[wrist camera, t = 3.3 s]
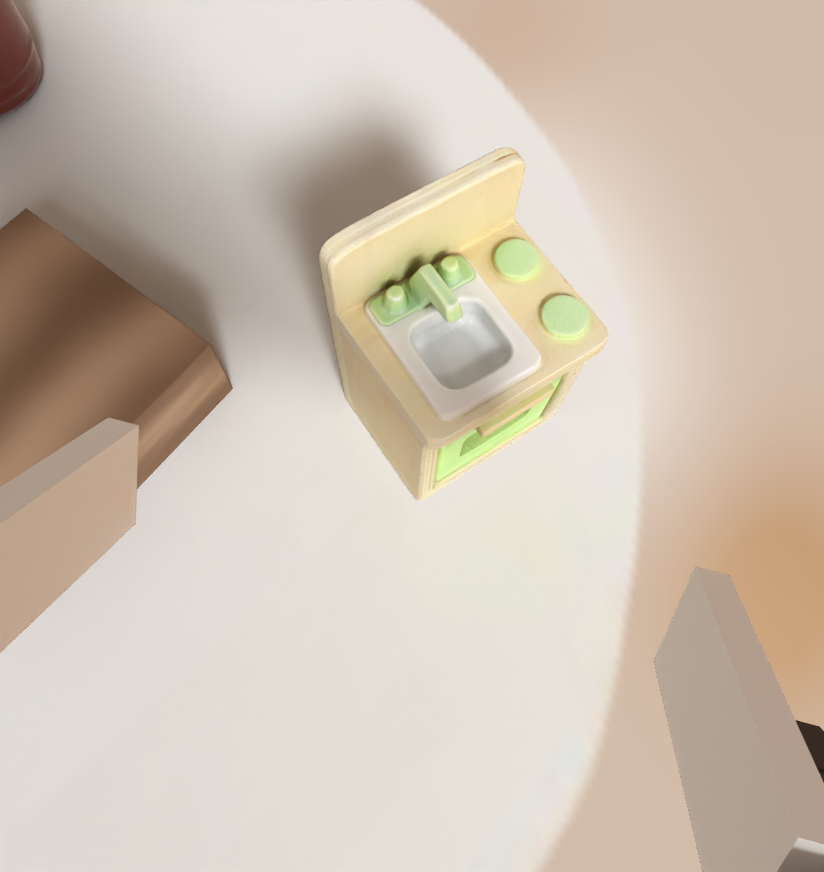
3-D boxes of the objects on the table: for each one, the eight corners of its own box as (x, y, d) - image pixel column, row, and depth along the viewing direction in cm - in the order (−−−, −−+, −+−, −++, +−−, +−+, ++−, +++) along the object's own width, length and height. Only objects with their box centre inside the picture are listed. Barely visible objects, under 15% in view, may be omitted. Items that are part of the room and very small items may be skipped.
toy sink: (421, 517, 33) (438, 409, 21) (341, 399, 35) (314, 239, 23) (561, 427, 35) (652, 279, 23) (477, 320, 37) (518, 133, 25)
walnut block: (-111, 429, 35) (-190, 386, 30) (71, 268, 38) (26, 208, 33) (56, 577, 32) (-1, 556, 27) (234, 391, 36) (210, 344, 31)
